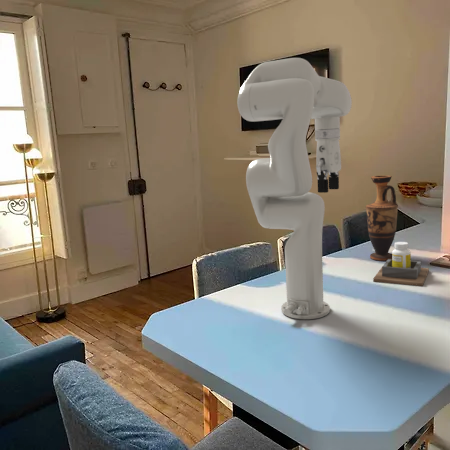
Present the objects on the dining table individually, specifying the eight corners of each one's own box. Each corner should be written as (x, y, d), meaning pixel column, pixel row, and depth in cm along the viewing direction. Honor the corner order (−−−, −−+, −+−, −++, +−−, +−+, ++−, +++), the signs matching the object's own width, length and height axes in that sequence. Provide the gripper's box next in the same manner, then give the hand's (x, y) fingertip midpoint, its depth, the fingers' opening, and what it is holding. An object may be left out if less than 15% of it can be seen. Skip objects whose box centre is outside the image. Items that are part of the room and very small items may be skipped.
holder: (422, 286, 130) (422, 273, 129) (373, 281, 137) (373, 269, 137) (428, 271, 144) (429, 259, 143) (383, 267, 151) (383, 256, 150)
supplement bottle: (407, 270, 142) (407, 240, 141) (412, 275, 137) (413, 244, 135) (390, 271, 143) (390, 241, 141) (394, 276, 138) (394, 245, 136)
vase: (367, 262, 159) (366, 178, 153) (365, 254, 169) (364, 175, 163) (399, 262, 156) (400, 176, 150) (395, 254, 166) (396, 174, 161)
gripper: (329, 135, 128) (330, 193, 131) (348, 134, 143) (348, 188, 145) (305, 136, 132) (306, 193, 135) (325, 136, 147) (326, 188, 149)
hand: (328, 190), depth 140 cm, fingers open, 9 cm apart
